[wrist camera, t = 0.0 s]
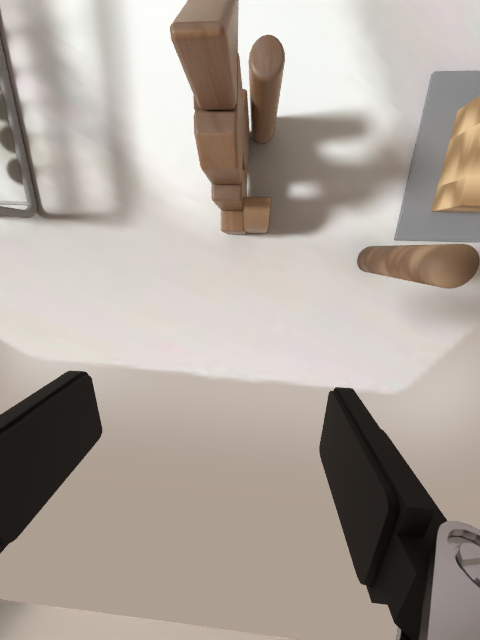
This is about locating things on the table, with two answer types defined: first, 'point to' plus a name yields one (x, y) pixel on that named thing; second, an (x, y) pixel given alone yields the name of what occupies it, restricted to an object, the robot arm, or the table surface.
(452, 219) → the slate mat
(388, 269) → the walnut dowel
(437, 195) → the square-hole wood block
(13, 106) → the newton's cradle
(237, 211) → the wooden toy
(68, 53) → the table surface
